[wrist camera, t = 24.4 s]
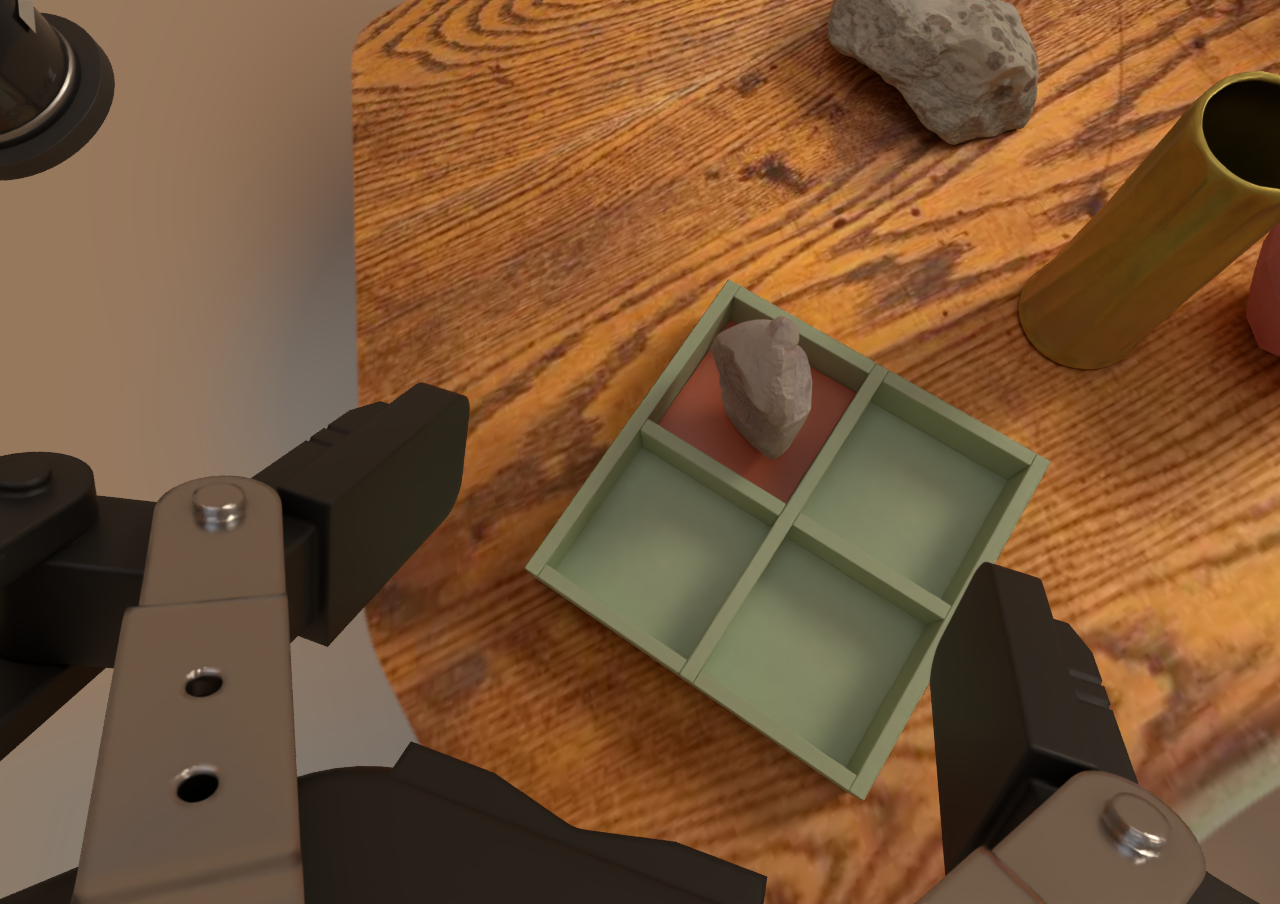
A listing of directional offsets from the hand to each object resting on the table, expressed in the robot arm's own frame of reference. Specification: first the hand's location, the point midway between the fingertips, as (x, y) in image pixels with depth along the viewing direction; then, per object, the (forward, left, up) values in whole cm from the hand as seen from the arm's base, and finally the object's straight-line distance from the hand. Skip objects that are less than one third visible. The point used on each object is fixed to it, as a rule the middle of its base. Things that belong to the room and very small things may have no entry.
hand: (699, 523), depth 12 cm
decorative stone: (-6, +35, -27) cm, 45 cm away
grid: (+1, +7, -27) cm, 28 cm away
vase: (+8, +25, -27) cm, 38 cm away
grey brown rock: (-3, +11, -26) cm, 28 cm away
